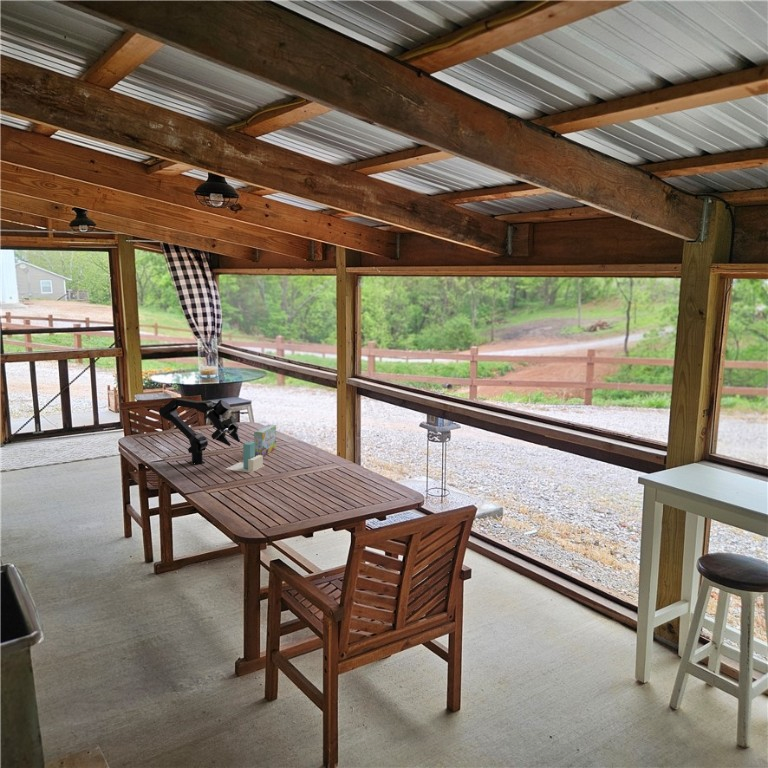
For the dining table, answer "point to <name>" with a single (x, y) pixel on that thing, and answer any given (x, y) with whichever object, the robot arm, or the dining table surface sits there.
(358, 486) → the dining table surface
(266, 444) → the snack box
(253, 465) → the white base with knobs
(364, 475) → the dining table surface
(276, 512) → the dining table surface
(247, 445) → the tall teal pillar
